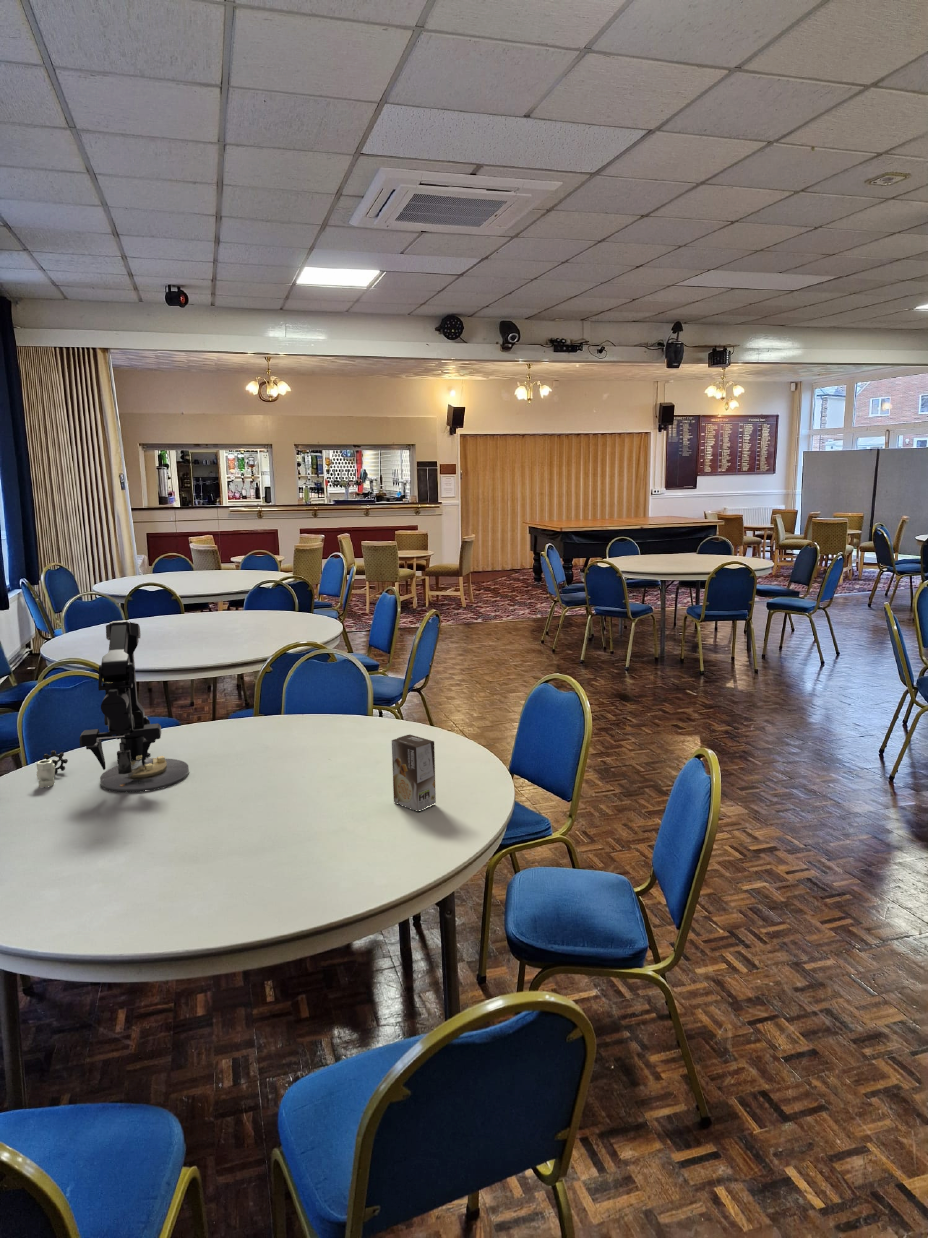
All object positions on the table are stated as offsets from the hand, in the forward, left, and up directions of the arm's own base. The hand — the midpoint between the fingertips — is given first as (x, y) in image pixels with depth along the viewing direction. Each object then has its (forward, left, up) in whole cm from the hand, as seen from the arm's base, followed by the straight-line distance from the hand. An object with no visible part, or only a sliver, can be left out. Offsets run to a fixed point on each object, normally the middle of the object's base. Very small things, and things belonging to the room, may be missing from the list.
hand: (124, 767), depth 201 cm
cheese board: (-6, -3, -4) cm, 8 cm away
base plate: (-8, -5, -6) cm, 11 cm away
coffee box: (-39, +65, -6) cm, 76 cm away
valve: (+9, -23, -6) cm, 25 cm away
